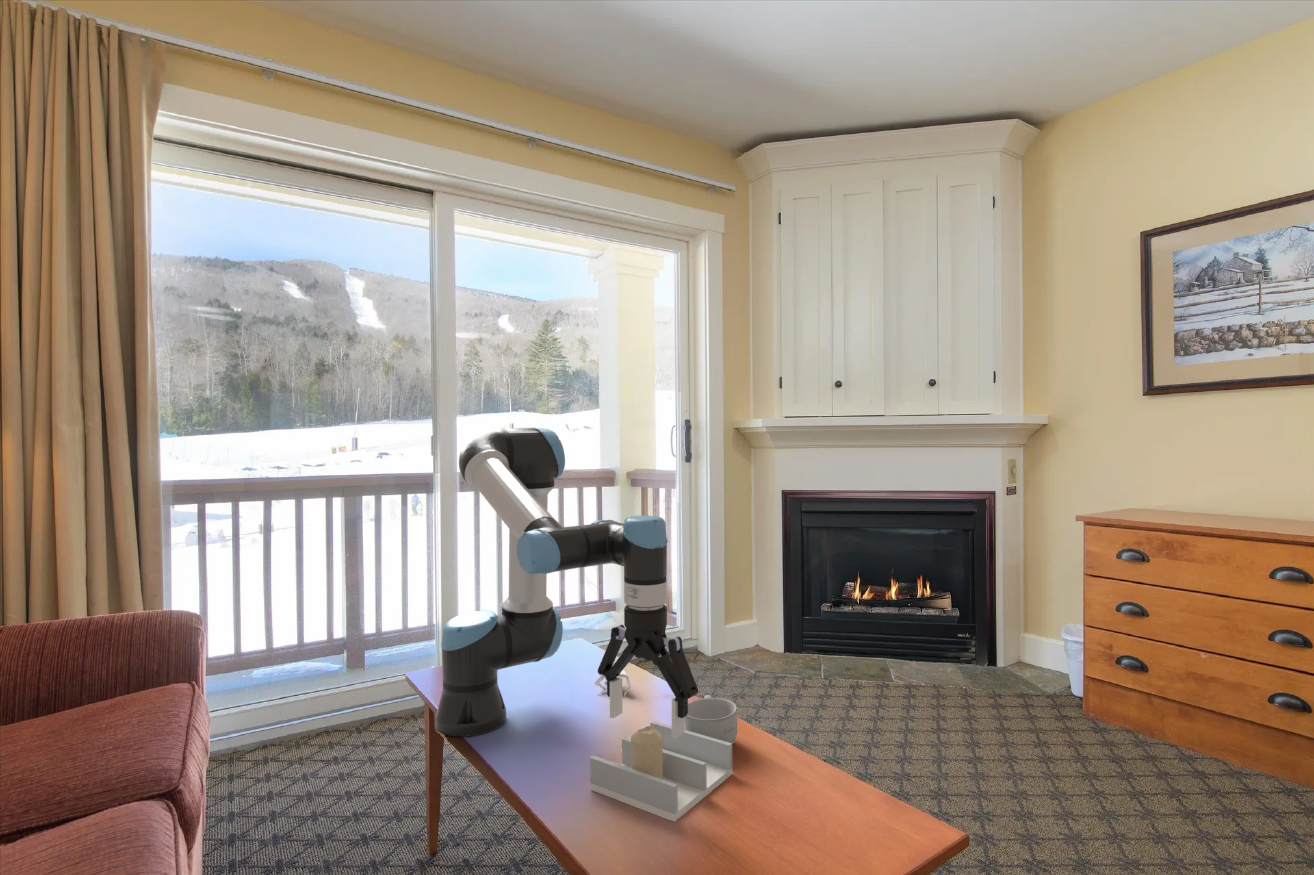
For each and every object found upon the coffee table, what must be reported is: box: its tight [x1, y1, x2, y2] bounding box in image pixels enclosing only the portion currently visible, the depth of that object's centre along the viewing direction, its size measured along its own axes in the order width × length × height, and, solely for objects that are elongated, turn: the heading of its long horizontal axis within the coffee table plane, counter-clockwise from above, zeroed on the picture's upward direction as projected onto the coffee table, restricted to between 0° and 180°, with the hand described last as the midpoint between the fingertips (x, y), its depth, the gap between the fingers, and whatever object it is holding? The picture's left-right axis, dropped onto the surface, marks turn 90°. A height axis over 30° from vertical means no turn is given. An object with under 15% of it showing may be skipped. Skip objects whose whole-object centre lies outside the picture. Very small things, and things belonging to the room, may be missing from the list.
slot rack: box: [589, 720, 733, 823], centre depth 126 cm, size 18×19×6 cm
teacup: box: [684, 694, 738, 744], centre depth 142 cm, size 14×11×8 cm
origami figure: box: [593, 669, 632, 697], centre depth 171 cm, size 12×8×5 cm
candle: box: [630, 725, 663, 779], centre depth 123 cm, size 6×6×10 cm
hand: (646, 725), depth 123 cm, fingers open, 13 cm apart
